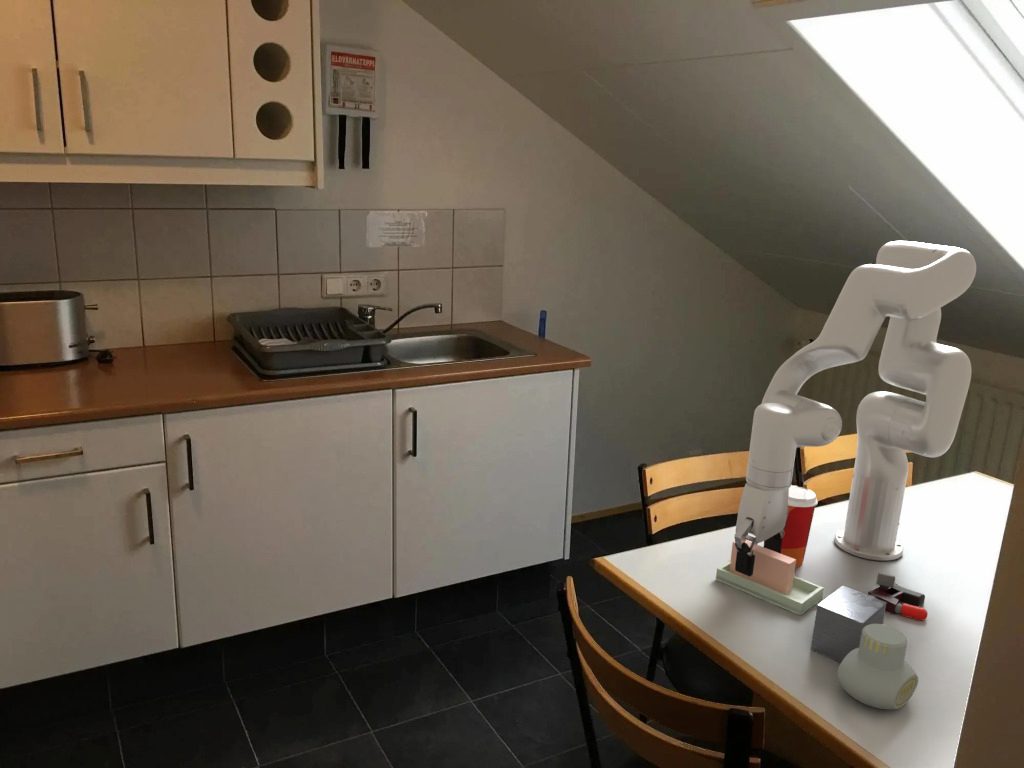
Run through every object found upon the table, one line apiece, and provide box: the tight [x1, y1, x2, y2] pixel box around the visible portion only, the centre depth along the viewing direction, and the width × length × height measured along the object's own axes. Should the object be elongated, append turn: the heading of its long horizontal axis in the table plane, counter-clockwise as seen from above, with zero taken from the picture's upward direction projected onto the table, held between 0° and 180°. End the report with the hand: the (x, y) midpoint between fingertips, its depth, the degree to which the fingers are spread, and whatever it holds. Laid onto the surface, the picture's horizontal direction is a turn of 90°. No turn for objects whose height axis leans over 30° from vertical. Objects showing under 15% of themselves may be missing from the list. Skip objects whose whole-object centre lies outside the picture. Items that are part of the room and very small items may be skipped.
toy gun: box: [867, 571, 928, 621], centre depth 143 cm, size 10×12×5 cm
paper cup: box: [780, 484, 818, 568], centre depth 158 cm, size 8×8×14 cm
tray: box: [715, 560, 824, 616], centre depth 149 cm, size 8×16×2 cm, turn 45°
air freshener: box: [836, 623, 919, 710], centre depth 119 cm, size 11×8×10 cm
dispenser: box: [810, 585, 887, 664], centre depth 131 cm, size 9×8×8 cm
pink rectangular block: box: [729, 540, 796, 595], centre depth 149 cm, size 2×11×6 cm, turn 45°
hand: (757, 564), depth 149 cm, fingers open, 9 cm apart
